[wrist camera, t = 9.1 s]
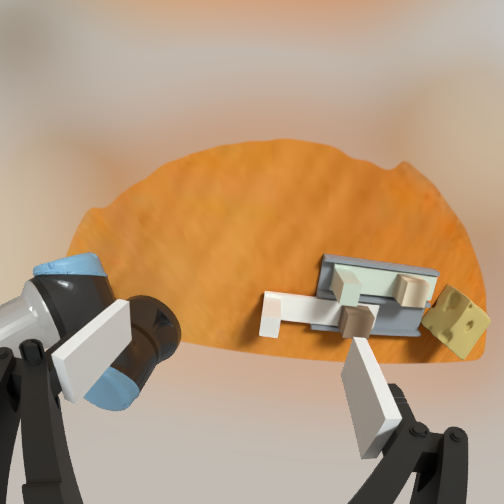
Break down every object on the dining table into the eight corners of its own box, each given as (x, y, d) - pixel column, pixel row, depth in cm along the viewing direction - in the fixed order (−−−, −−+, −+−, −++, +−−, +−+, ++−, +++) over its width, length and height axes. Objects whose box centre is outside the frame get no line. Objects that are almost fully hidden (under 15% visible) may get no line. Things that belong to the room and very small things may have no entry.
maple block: (391, 295, 50) (401, 306, 45) (397, 273, 49) (408, 282, 44) (413, 297, 50) (424, 307, 45) (419, 276, 48) (430, 284, 44)
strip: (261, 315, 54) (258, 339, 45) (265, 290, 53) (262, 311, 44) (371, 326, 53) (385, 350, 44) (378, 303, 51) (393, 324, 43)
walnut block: (337, 324, 52) (342, 337, 47) (342, 303, 51) (348, 315, 46) (361, 326, 52) (368, 339, 47) (367, 306, 51) (375, 317, 46)
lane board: (309, 322, 55) (311, 329, 52) (323, 253, 51) (325, 257, 49) (415, 330, 53) (419, 336, 51) (434, 269, 50) (439, 272, 47)
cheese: (418, 320, 53) (438, 343, 43) (448, 279, 50) (473, 297, 40) (443, 339, 53) (463, 362, 44) (471, 302, 51) (494, 320, 41)
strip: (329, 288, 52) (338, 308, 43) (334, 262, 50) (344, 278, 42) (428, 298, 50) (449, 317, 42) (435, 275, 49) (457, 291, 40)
